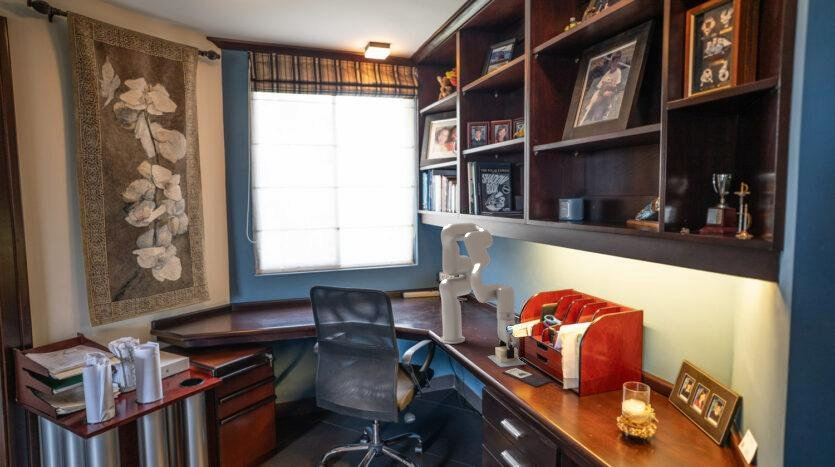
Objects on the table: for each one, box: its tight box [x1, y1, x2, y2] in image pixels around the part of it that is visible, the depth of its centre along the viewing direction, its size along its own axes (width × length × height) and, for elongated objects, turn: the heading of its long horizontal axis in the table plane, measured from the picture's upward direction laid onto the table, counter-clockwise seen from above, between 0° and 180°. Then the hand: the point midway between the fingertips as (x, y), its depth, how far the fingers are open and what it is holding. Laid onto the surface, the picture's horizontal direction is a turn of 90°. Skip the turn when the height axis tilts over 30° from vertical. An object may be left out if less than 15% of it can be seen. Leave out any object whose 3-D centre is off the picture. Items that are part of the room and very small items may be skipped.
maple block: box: [494, 345, 519, 363], centre depth 197 cm, size 8×6×5 cm
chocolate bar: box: [501, 366, 553, 389], centre depth 177 cm, size 9×1×18 cm
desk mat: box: [487, 354, 527, 368], centre depth 197 cm, size 14×12×1 cm
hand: (506, 355), depth 197 cm, fingers open, 7 cm apart
